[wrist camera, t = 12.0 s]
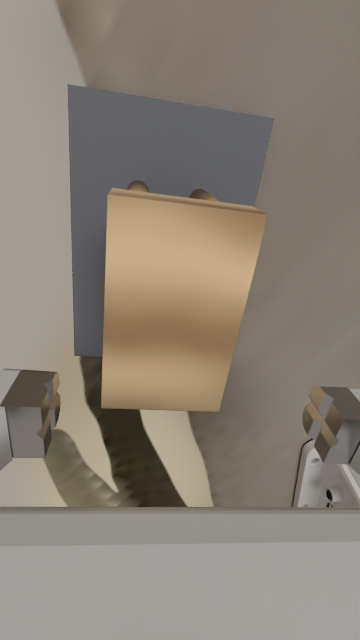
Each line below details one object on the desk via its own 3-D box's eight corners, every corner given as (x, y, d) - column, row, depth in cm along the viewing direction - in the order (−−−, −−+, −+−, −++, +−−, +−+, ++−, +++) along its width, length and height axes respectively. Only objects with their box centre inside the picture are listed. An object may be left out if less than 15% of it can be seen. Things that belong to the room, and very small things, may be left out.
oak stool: (123, 173, 20) (107, 194, 12) (216, 185, 21) (268, 214, 12) (116, 315, 25) (101, 408, 16) (193, 320, 26) (218, 411, 17)
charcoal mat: (217, 357, 29) (219, 362, 28) (76, 350, 27) (74, 355, 26) (269, 119, 20) (273, 118, 20) (70, 86, 19) (67, 84, 18)
